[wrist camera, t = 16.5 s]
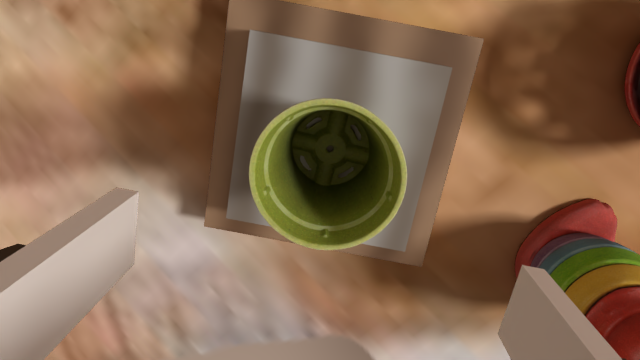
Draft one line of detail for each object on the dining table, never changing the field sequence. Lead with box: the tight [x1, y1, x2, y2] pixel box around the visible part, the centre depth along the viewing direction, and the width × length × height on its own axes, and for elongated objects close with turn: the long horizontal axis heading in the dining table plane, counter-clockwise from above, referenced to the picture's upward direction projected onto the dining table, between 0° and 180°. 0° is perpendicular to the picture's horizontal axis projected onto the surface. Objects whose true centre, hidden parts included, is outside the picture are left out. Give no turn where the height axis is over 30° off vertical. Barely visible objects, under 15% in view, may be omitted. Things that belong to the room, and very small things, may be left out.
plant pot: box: [249, 98, 407, 250], centre depth 31 cm, size 9×9×9 cm
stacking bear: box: [515, 199, 640, 360], centre depth 35 cm, size 11×10×18 cm
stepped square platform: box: [204, 0, 484, 267], centre depth 38 cm, size 20×20×6 cm
